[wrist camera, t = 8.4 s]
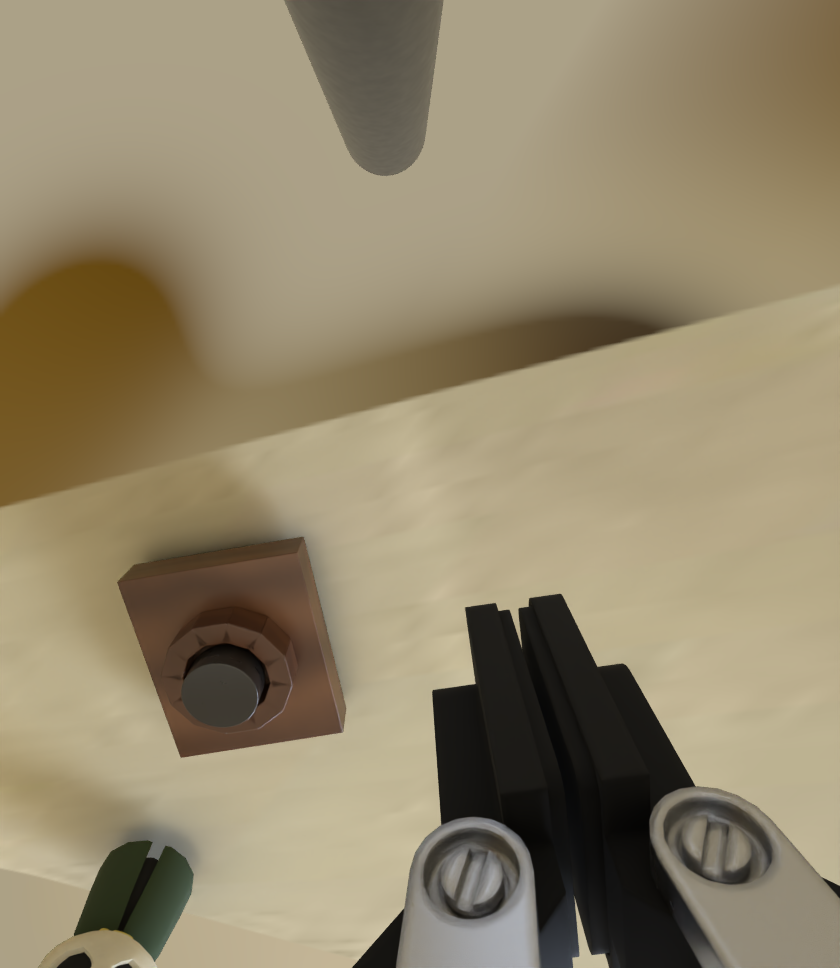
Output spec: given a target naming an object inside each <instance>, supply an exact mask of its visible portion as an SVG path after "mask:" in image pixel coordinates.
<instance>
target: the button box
mask: <svg viewBox="0 0 840 968" xmlns="http://www.w3.org/2000/svg"><path fill="white" fill-rule="evenodd" d="M117 583H118V586H119V589H120V591H121V594H122V597H123V600H124V602H125V605H126V608H127V611H128V613H129V616H130V619H131V622H132V625H133V627H134V630H135V633H136V636H137V638H138V641H139V644H140V647H141V649H142V652H143V655H144V658H145V660H146V663H147V666H148V669H149V671H150V674H151V677H152V680H153V682H154V685H155V688H156V691H157V693H158V696H159V699H160V702H161V704H162V707H163V710H164V713H165V715H166V718H167V721H168V724H169V726H170V729H171V732H172V735H173V737H174V740H175V743H176V746H177V748H178V751H179V754H180V757H181V758H182V757H189V756H195V755H201V754H208V753H214V752H221V751H227V750H234V749H240V748H246V747H253V746H259V745H266V744H272V743H278V742H285V741H291V740H298V739H304V738H311V737H317V736H323V735H330V734H336V733H342V732H343V728H344V721H345V714H346V705H345V701H344V697H343V693H342V689H341V685H340V681H339V677H338V673H337V669H336V665H335V661H334V657H333V653H332V649H331V645H330V641H329V637H328V633H327V629H326V625H325V621H324V617H323V613H322V609H321V605H320V601H319V597H318V593H317V589H316V585H315V581H314V577H313V573H312V569H311V565H310V561H309V557H308V553H307V549H306V544H305V540H304V537H298V538H292V539H286V540H280V541H274V542H268V543H262V544H256V545H250V546H244V547H238V548H232V549H226V550H220V551H214V552H208V553H202V554H196V555H190V556H184V557H178V558H172V559H166V560H160V561H154V562H148V563H142V564H136V565H133V566H132V567H131V568H130V570H129V571H128V572H127V573H126V574H125V575H124V576H123V577H122V578H121V579H120V580H119V581H118V582H117ZM218 645H233V646H237V647H241V648H243V649H245V650H247V651H249V652H250V653H252V654H253V655H254V656H255V657H256V658H257V659H258V660H259V661H260V663H261V665H262V667H263V669H264V672H265V685H264V688H263V691H262V694H261V697H260V700H259V702H258V705H257V708H256V710H255V712H254V713H253V714H252V716H251V717H250V718H248V719H247V720H246V721H244V722H243V723H241V724H239V725H236V726H232V727H213V726H209V725H206V724H204V723H202V722H200V721H198V720H197V719H195V718H194V717H193V716H192V715H191V714H190V713H189V712H188V711H187V709H186V708H185V706H184V704H183V701H182V697H181V688H182V684H183V681H184V679H185V678H186V676H187V674H188V672H189V670H190V669H191V667H192V665H193V663H194V662H195V660H196V658H197V657H198V656H199V655H200V654H201V653H202V652H204V651H205V650H207V649H209V648H211V647H214V646H218Z"/></svg>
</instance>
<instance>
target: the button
mask: <svg viewBox="0 0 840 968" xmlns="http://www.w3.org/2000/svg"><path fill="white" fill-rule="evenodd" d="M264 685H265V672H264V669H263V667H262V665H261V663H260V661H259V660H258V659H257V658H256V657H255V656H254V655H253V654H252V653H250V652H249V651H247V650H245V649H243V648H241V647H237V646H233V645H218V646H214V647H211V648H209V649H207V650H205V651H204V652H202V653H201V654H200V655H199V656H198V657H197V658H196V660H195V662H194V663H193V665H192V667H191V669H190V670H189V672H188V674H187V676H186V678H185V679H184V681H183V684H182V688H181V697H182V701H183V704H184V706H185V708H186V709H187V711H188V712H189V713H190V714H191V715H192V716H193V717H194V718H195V719H197V720H198V721H200V722H202V723H204V724H206V725H209V726H213V727H232V726H236V725H239V724H241V723H243V722H244V721H246V720H247V719H248V718H250V717H251V716H252V714H253V713H254V712H255V710H256V708H257V705H258V702H259V700H260V697H261V694H262V691H263V688H264Z"/></svg>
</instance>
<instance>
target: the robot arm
mask: <svg viewBox="0 0 840 968" xmlns="http://www.w3.org/2000/svg"><path fill="white" fill-rule="evenodd" d="M465 611H466V618H467V625H468V632H469V640H470V647H471V654H472V661H473V668H474V675H475V682H476V684H473V685H466V686H459V687H452V688H445V689H438V690H433V692H432V695H433V711H434V725H435V740H436V754H437V768H438V783H439V797H440V812H441V826H439V827H438V828H437V829H435V830H434V831H433V832H432V833H430V834H429V835H428V836H427V837H426V838H425V839H424V840H423V842H422V843H421V845H420V846H419V848H418V849H417V851H416V852H415V855H414V858H413V862H412V865H411V868H410V873H409V880H408V887H407V894H406V901H405V908H404V909H403V910H402V911H401V913H400V914H399V915H398V916H397V917H396V918H395V919H394V921H393V922H392V923H391V924H390V925H389V926H388V927H387V928H386V930H385V931H384V932H383V933H382V934H381V935H380V936H379V938H378V939H377V940H376V941H375V942H374V943H373V944H372V946H371V947H370V948H369V949H368V950H367V951H366V952H365V954H364V955H363V956H362V957H361V958H360V959H359V960H358V962H357V963H356V964H355V965H354V966H353V967H352V968H573V962H572V958H573V957H579V945H578V933H577V922H576V911H575V900H576V903H577V907H578V911H579V914H580V918H581V922H582V925H583V929H584V933H585V936H586V940H587V943H588V947H589V950H590V952H591V954H592V955H596V954H604V953H605V955H606V958H607V961H608V965H609V968H840V886H839V885H837V884H835V883H833V882H830V881H828V880H826V879H824V878H822V877H821V876H820V875H819V874H818V873H817V872H816V871H815V869H814V868H813V867H812V866H811V865H810V864H809V862H808V861H807V860H806V859H805V858H804V857H803V856H802V854H801V853H800V852H799V851H798V850H797V849H796V847H795V846H794V845H793V844H792V843H791V842H790V841H789V839H788V838H787V837H786V836H785V835H784V834H783V832H782V831H781V830H780V829H779V828H778V827H777V826H776V824H775V823H774V822H773V821H772V820H771V819H770V818H769V817H768V816H767V815H765V814H764V813H763V812H762V811H761V810H760V809H759V808H758V807H757V806H755V805H753V804H752V803H750V802H748V801H746V800H745V799H743V798H741V797H740V796H738V795H735V794H732V793H729V792H726V791H723V790H720V789H716V788H708V787H699V786H697V787H696V786H695V785H694V783H693V781H692V779H691V778H690V776H689V774H688V772H687V770H686V769H685V767H684V765H683V763H682V762H681V760H680V758H679V756H678V755H677V753H676V751H675V749H674V747H673V746H672V744H671V742H670V740H669V739H668V737H667V735H666V733H665V732H664V730H663V728H662V726H661V725H660V723H659V721H658V719H657V717H656V716H655V714H654V712H653V710H652V709H651V707H650V705H649V703H648V702H647V700H646V698H645V696H644V694H643V693H642V691H641V689H640V687H639V686H638V684H637V682H636V680H635V679H634V677H633V675H632V673H631V672H630V670H629V669H628V667H627V666H626V665H624V664H616V665H608V666H601V667H597V665H596V663H595V661H594V659H593V657H592V655H591V653H590V651H589V649H588V647H587V645H586V643H585V641H584V639H583V637H582V635H581V633H580V631H579V629H578V626H577V624H576V622H575V620H574V618H573V616H572V614H571V612H570V610H569V608H568V606H567V604H566V602H565V600H564V598H563V596H562V595H561V594H555V595H548V596H541V597H534V598H529V607H524V608H519V622H520V632H521V641H522V648H521V644H520V641H519V638H518V635H517V632H516V629H515V625H514V622H513V619H512V616H511V613H510V610H503V611H498V608H497V605H496V603H493V604H486V605H479V606H472V607H465ZM522 650H523V651H522ZM574 896H575V899H574Z"/></svg>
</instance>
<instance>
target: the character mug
mask: <svg viewBox="0 0 840 968" xmlns="http://www.w3.org/2000/svg"><path fill="white" fill-rule="evenodd" d="M152 843H153V842H151V841H148V840H147V841H136V842H128V843H126V844H124V845H122V846H120V847H118V848H117V849H115V850H113V851H111V852H110V854H109V856H108V857H107V859H106V860H105V862H104V863H103V865H102V866H101V868H100V870H99V872H98V874H97V877H96V879H95V881H94V884H93V886H92V888H91V891H90V893H89V896H88V898H87V901H86V904H85V907H84V909H83V912H82V914H81V917H80V919H79V922H78V925H77V927H76V930H75V933H74V936H73V937H71V938H69V939H68V940H66V941H64V942H62V943H61V944H59V945H57V946H56V947H55V948H54V949H53V950H51V951H50V952H49V953H48V954H47V955H46V956H45V958H44V959H43V961H42V962H41V964H40V965H39V967H38V968H157V966H156V964H155V960H156V959H157V958H158V956H159V955H160V953H161V951H162V949H163V947H164V945H165V944H166V941H167V940H168V938H169V936H170V934H171V932H172V931H173V929H174V927H175V925H176V923H177V921H178V919H179V918H180V916H181V914H182V912H183V910H184V907H185V905H186V903H187V901H188V899H189V897H190V895H191V892H192V884H193V875H194V874H193V872H192V870H191V868H190V866H189V864H188V862H187V860H186V858H185V857H183V856H182V855H181V854H179V853H178V852H177V851H176V850H174V849H173V848H172V847H169V846H165V848H164V850H163V852H162V854H161V856H160V858H159V860H157V859H155V858H146V857H147V854H148V852H149V850H150V847H151V845H152Z"/></svg>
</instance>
